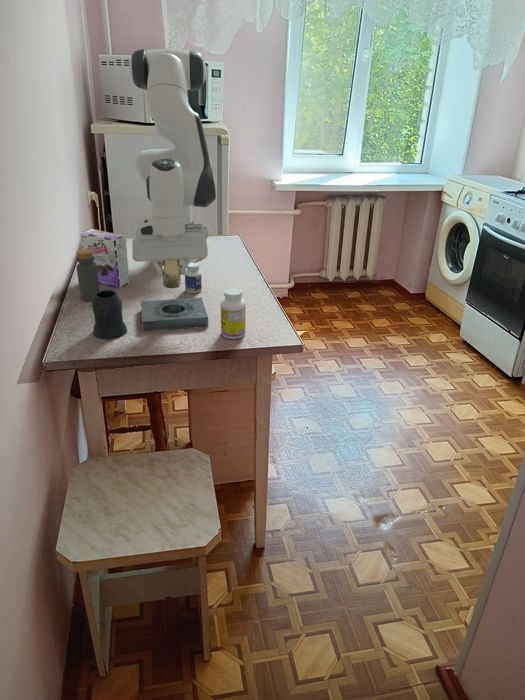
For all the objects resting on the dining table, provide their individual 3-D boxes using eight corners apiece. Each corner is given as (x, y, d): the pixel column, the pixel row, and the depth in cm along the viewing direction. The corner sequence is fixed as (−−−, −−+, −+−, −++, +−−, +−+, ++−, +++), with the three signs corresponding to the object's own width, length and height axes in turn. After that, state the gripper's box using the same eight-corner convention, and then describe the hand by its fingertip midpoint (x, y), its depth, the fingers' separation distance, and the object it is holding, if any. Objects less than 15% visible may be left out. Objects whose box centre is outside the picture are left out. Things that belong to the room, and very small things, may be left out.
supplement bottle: (221, 329, 149) (220, 286, 142) (244, 329, 149) (245, 286, 143) (221, 340, 143) (220, 296, 137) (245, 340, 143) (246, 296, 137)
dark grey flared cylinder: (97, 324, 149) (92, 287, 144) (129, 324, 150) (126, 287, 144) (86, 344, 138) (81, 305, 133) (122, 344, 139) (118, 305, 134)
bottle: (104, 297, 166) (98, 250, 158) (89, 303, 161) (82, 255, 154) (92, 292, 168) (85, 247, 161) (76, 298, 164) (69, 251, 157)
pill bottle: (198, 294, 170) (198, 268, 166) (183, 292, 171) (182, 266, 166) (203, 288, 174) (203, 262, 170) (188, 286, 175) (187, 261, 171)
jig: (141, 310, 158) (140, 301, 156) (201, 306, 162) (201, 297, 160) (143, 331, 146) (142, 321, 144) (208, 326, 150) (208, 317, 148)
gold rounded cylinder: (162, 282, 150) (161, 255, 146) (180, 281, 151) (178, 254, 147) (164, 288, 146) (162, 260, 142) (181, 287, 147) (180, 259, 143)
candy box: (85, 281, 177) (79, 232, 169) (97, 275, 182) (91, 228, 174) (119, 288, 172) (114, 239, 164) (130, 282, 177) (126, 234, 169)
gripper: (206, 220, 146) (207, 269, 152) (129, 223, 141) (134, 272, 148) (209, 226, 140) (210, 276, 147) (130, 229, 136) (134, 280, 142)
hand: (171, 274), depth 147 cm, fingers closed on gold rounded cylinder, 5 cm apart
